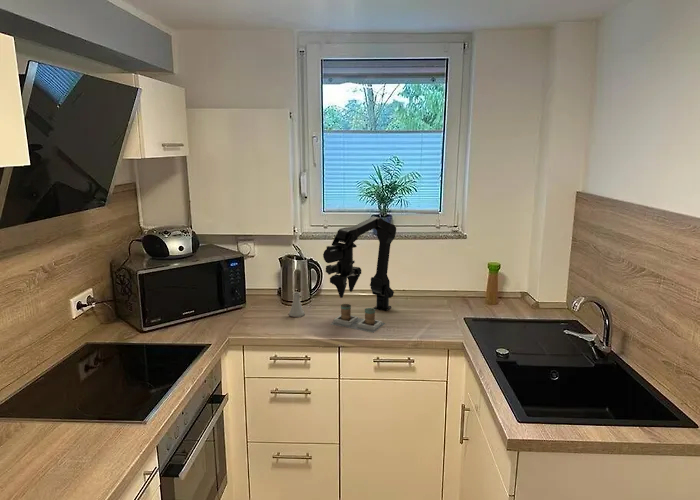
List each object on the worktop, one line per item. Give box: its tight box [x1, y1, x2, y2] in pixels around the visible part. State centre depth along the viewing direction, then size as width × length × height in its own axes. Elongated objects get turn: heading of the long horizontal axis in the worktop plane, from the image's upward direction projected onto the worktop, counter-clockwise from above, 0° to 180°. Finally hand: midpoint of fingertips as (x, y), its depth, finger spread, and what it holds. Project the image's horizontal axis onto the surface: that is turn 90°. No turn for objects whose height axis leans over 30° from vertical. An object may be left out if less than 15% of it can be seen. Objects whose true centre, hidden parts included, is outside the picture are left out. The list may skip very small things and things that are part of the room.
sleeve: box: [340, 303, 352, 321], centre depth 213 cm, size 4×4×7 cm
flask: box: [288, 291, 306, 318], centre depth 223 cm, size 7×7×10 cm
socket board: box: [330, 314, 386, 333], centre depth 211 cm, size 12×20×3 cm, turn 63°
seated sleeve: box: [364, 307, 376, 326], centre depth 208 cm, size 4×4×7 cm
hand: (346, 294), depth 216 cm, fingers open, 9 cm apart
